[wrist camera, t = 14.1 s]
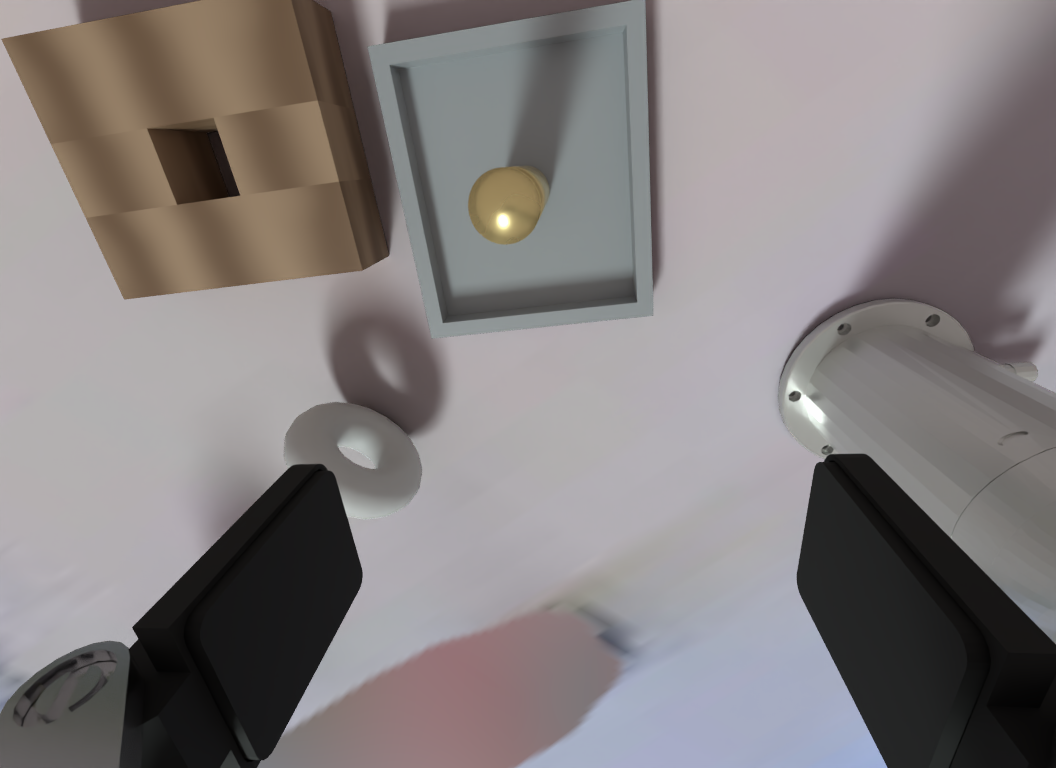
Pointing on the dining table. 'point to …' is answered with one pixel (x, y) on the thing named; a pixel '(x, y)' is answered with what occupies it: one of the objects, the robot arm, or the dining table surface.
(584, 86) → the tray
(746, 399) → the dining table surface
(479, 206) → the pin
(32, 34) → the pin block
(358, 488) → the donut
